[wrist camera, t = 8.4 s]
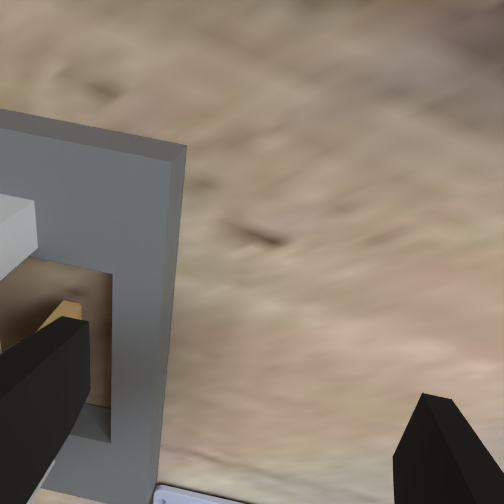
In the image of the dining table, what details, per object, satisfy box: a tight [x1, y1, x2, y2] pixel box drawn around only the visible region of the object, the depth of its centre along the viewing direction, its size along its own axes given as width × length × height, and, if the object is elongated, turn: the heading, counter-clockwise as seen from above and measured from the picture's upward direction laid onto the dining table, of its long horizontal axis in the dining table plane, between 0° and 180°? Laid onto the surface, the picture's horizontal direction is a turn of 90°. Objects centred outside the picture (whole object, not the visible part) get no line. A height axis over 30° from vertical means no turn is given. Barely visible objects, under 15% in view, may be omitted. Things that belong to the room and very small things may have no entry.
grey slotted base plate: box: [0, 109, 187, 504], centre depth 21 cm, size 20×12×5 cm, turn 171°
